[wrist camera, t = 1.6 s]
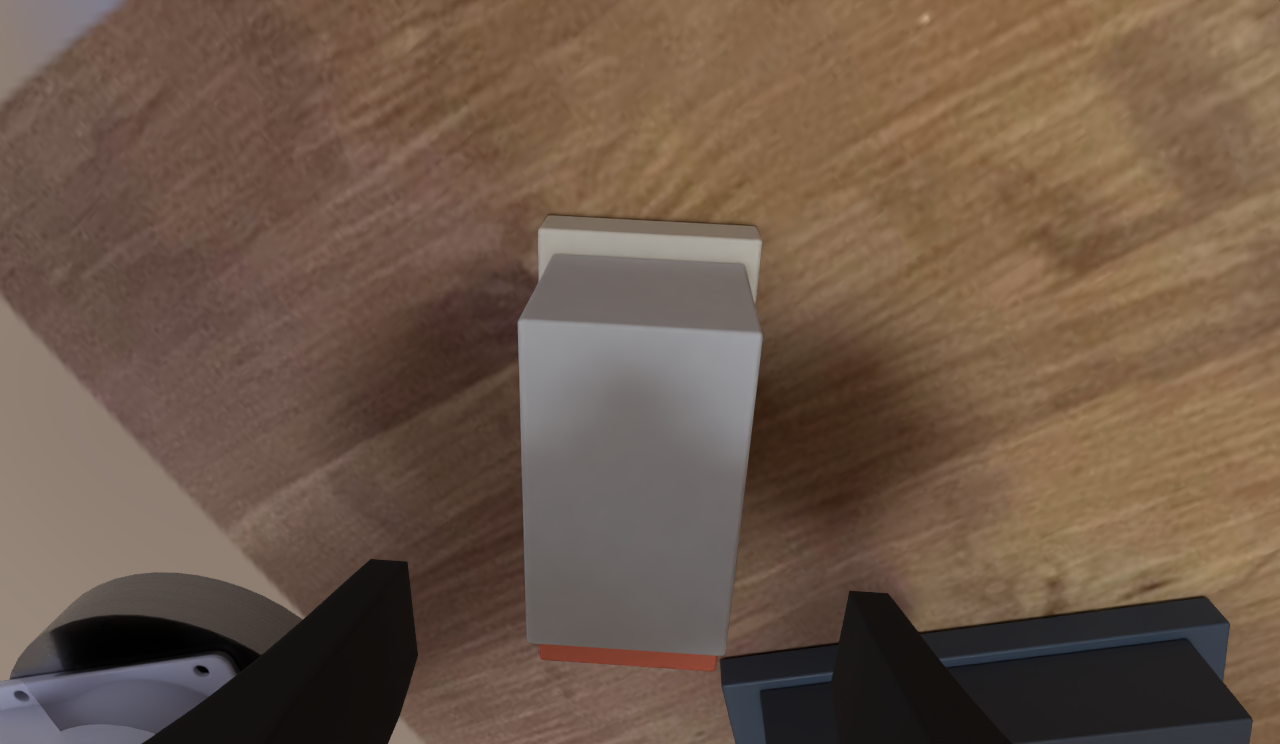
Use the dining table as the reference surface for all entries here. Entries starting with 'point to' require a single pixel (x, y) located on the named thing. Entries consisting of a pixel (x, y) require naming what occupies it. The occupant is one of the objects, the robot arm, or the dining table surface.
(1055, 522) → the dining table surface
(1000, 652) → the dark grey flat tray
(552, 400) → the white box
